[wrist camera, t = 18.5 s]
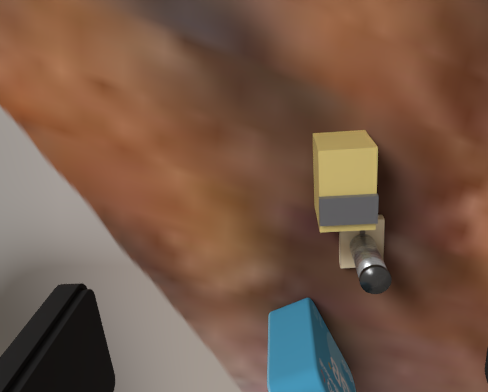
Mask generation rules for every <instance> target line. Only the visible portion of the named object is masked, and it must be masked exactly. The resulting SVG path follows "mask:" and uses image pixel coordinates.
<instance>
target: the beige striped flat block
mask: <svg viewBox="0 0 488 392" xmlns="http://www.w3.org/2000/svg"><path fill="white" fill-rule="evenodd" d="M384 226H385V219H384V217H383V215H378V224H376V230H360V231H339V264H340V267H341V268H356V267H355V264H354V261H353V257H352V254H351V251H350V248H349V245H350V242H351V240H352V239H353V238H354V237H355V236H357V235H360V234H366V235H369V236H371V237H372V238H373V239H374V241H375V243H376V245H377V247H378V250H379V252H380V254H381V257H382V259H383V256H384Z"/></svg>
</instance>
